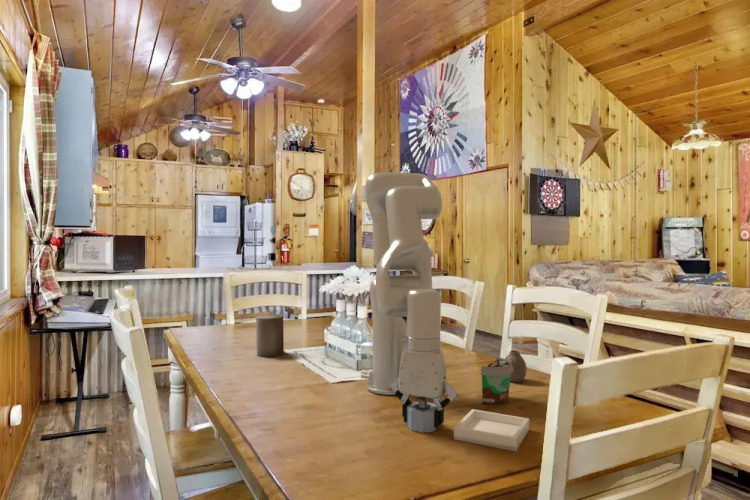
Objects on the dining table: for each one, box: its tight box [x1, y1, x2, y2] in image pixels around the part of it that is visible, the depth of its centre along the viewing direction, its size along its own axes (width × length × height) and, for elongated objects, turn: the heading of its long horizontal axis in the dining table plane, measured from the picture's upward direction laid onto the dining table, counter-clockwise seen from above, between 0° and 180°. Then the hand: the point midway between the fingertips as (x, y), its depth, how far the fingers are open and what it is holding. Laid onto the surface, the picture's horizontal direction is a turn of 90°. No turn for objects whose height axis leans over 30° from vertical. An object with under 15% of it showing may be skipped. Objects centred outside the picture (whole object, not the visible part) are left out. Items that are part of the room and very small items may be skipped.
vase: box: [505, 350, 528, 383], centre depth 153 cm, size 7×7×9 cm
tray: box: [453, 408, 530, 452], centre depth 111 cm, size 13×13×2 cm
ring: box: [406, 401, 440, 434], centre depth 116 cm, size 7×8×4 cm
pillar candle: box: [255, 313, 285, 358], centre depth 185 cm, size 10×10×15 cm
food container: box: [480, 356, 513, 406], centre depth 134 cm, size 12×6×10 cm, turn 148°
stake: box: [417, 397, 428, 410], centre depth 116 cm, size 3×3×9 cm
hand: (422, 422), depth 116 cm, fingers closed on ring, 6 cm apart
